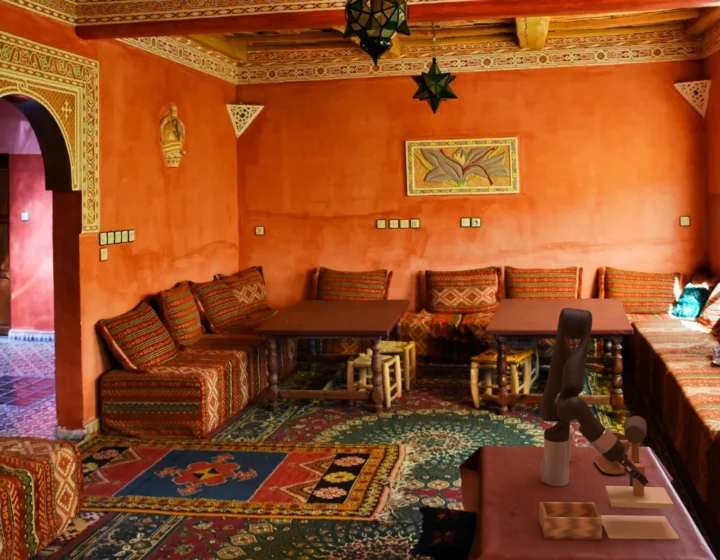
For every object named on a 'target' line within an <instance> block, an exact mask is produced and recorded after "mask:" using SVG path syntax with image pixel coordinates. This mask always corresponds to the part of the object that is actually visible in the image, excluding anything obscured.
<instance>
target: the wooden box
mask: <svg viewBox="0 0 720 560" xmlns="http://www.w3.org/2000/svg"><path fill="white" fill-rule="evenodd" d="M600 515H601V514H600V512H599V510H598V507H597V505H596V504H595V502H590V501H589V502H581V501H580V502H579V501H578V502H575V501H571V502H570V501H569V502H568V501H539V519H538V520H539V524H540V527H541V531H542V534H543V537H544V539H545V540H591V541H592V540H595V541H596V540H603V536H602V535H603V525H602V518H601V516H600Z"/></svg>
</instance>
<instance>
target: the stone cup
mask: <svg viewBox="0 0 720 560" xmlns="http://www.w3.org/2000/svg"><path fill="white" fill-rule="evenodd" d="M611 432H612V433H613V434H614V435H615V436H616V437H617V438H618V439H619V440H620V441H621V442H622V443H623V444H624V445H625V447H626V450H625V454H627V455H628V452H629V450H630V447H631V446H630V445H631V442H629V441H628V440H627V439H626V438H625V434H624V433H621V432H618V431H611ZM592 459H593V462H594V463H595V465H596V466H597V467H598V468H599V469H600V470H601V472H603V473H605V474H607V475H620V474H621V475H622V474H625V473H626V471H625V470H624V469H623V468H621V467H620V466H619V463H618V462H617V461H614V462H608V461H607V460H606V459H605V458H604V457H603V456H602V455H601V454H600V455H599V454H598V455H596V456H594V457H593V458H592Z"/></svg>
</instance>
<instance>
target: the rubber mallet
mask: <svg viewBox="0 0 720 560" xmlns="http://www.w3.org/2000/svg"><path fill="white" fill-rule="evenodd" d="M647 426H648V425H647V421H646V419H644V418H643V417H642V416H639V415H632V416H631V417H629V418H628V419H627V421H626V423H625V425H624V430H623V431H624V432H623V434H624V435H625V438H626V439H627V440H628V441H629V442H630V444H631V458H630V459H631V460H632V461H633V462H634V463H638V464H641V463H640V444H641V443H642V442H643V441H644V439H645V438H646V436H647V432H648V428H647ZM628 476H629V486H631V487H633V477H632V476H631V475H630V474H628Z"/></svg>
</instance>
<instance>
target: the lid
mask: <svg viewBox="0 0 720 560" xmlns="http://www.w3.org/2000/svg"><path fill="white" fill-rule="evenodd" d="M635 465H636V469H637V470H638V471H640V472H641V474H642V475H643V476H644V475H645V472H646V471H645V465H644V463H640V464H638V463H635ZM635 473H636V472H635ZM635 473H634V474H635ZM604 488H605V493H606V496H607V498H608V499H609V503H610V506H611V507H616V508H633V509H634V508H637V509H665V510H666V509H674V502H673V501H672V499H671V497H670V496H669V494H668V491H667V490H666V489H665V487H662V486H661V487H658V486H654V487H653V486H643V485H642V484H641V483H640V482H639V481H638V480H637V479H634V478H633V487H631V486H630V485H627V486H626V485H625V486H624V485H621V486H620V485H605V487H604Z"/></svg>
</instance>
